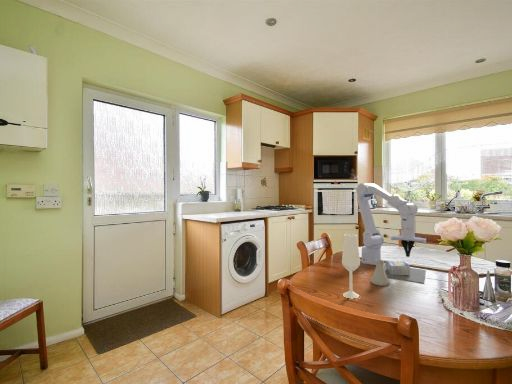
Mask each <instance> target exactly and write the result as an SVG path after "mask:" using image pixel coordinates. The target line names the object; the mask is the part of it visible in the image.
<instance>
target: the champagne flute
mask: <svg viewBox="0 0 512 384" xmlns="http://www.w3.org/2000/svg"><path fill="white" fill-rule="evenodd" d="M358 239H359V238H358V234H354V233H344V235H343V244H342V245H343V246H342V255H341V256H342V257H341V264H342V266H343V268H345V269H346V270H347V271H348V272H349V273H348V276H349V279H348V280H349V286H348V287H349V289H348V291H346V292H343V293H342V294H343V296H344V297H346V298H345V299H347V298H351V299H353V298H358V297H359V296H360V294H358V293H357V292H355V291H354V290H353V287H354V286H353V283H354V282H353V281H354V280H353V272H354V271H356V270H357V269H359V267H360V265H361V259H360V251H359V250H360V249H359V240H358ZM343 296H342V297H343ZM344 297H343V298H344ZM351 299H350V300H351Z"/></svg>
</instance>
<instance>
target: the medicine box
mask: <svg viewBox="0 0 512 384" xmlns="http://www.w3.org/2000/svg"><path fill="white" fill-rule="evenodd" d="M385 264H386V270H387V271H388V272H389V273H390V274H391V275H410V268H411V265H409V264H408V263H406V262H405V261H403V260H402V261H399V260H397V261H394V260H393V261H392V260H391V261H390V260H387V261H385Z"/></svg>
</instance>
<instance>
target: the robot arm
mask: <svg viewBox="0 0 512 384" xmlns="http://www.w3.org/2000/svg"><path fill="white" fill-rule="evenodd" d="M355 190H356V191H355V192H356V199H357V204H358V208H359V212H360V216H361V219H362V223H363V227H364V232H363V233H362V236H363V238H362V239H363V241H362V242H363V244H364V245H363V246H362V248H361V261H360V264H366V265H371V266H372V265H373V266H376V261H375V260H382V258H381V257H382V255H381V252H382V248H381V247H382V245H383V244H384V243H385V242H384V241H385V239H384V236H383V235H382V234H381V230H379V229H377V227H376V224H375V220H374V216H373V213H372V209H371V206H370V203H369V200H370V199H371V198H372V197H373V196H374V195H376V196H378V197H380V198H382V199H384V200H385V201H386V202H387V204H388V205H389V206H390V207H392V208H394V209H395V210H397V211H398V213H399V215H400V218H401V219H400V222H401V223H400V235H390V241H399V242H400V241H401V242H400V243H401V245H402V247H403V250H404V253H405V257H406V258H410V257H411V251H412V248H413V247H414V244H416V243H420V244H422V243H423V244H426V243H427V238H424V237H416V223H415V222H416V214H417V213H418V211H419V209H418V206H417V204H416V203H414V202H409V201H408V200H405V199H403V198H401V196H400V195H399V194H390V193H389V192H387V191H386V190H385V189H383V188H382V187H380V186H379V184H376V183H373V182H368V183H363V182H361V183H359V184H358V185H357V186H356V189H355Z"/></svg>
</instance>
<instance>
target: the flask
mask: <svg viewBox="0 0 512 384" xmlns="http://www.w3.org/2000/svg"><path fill="white" fill-rule="evenodd" d="M375 261H376V265H375V269H374V272H373V274H372V277H371V279H370V282H371V284H373V285H376V286H381V287H383V286H384V287H385V286H388V285H390V282H389V281H390V280H389V278H387V276H386V273H385V271H384V262H385V260H382V259H381V260H375Z"/></svg>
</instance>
